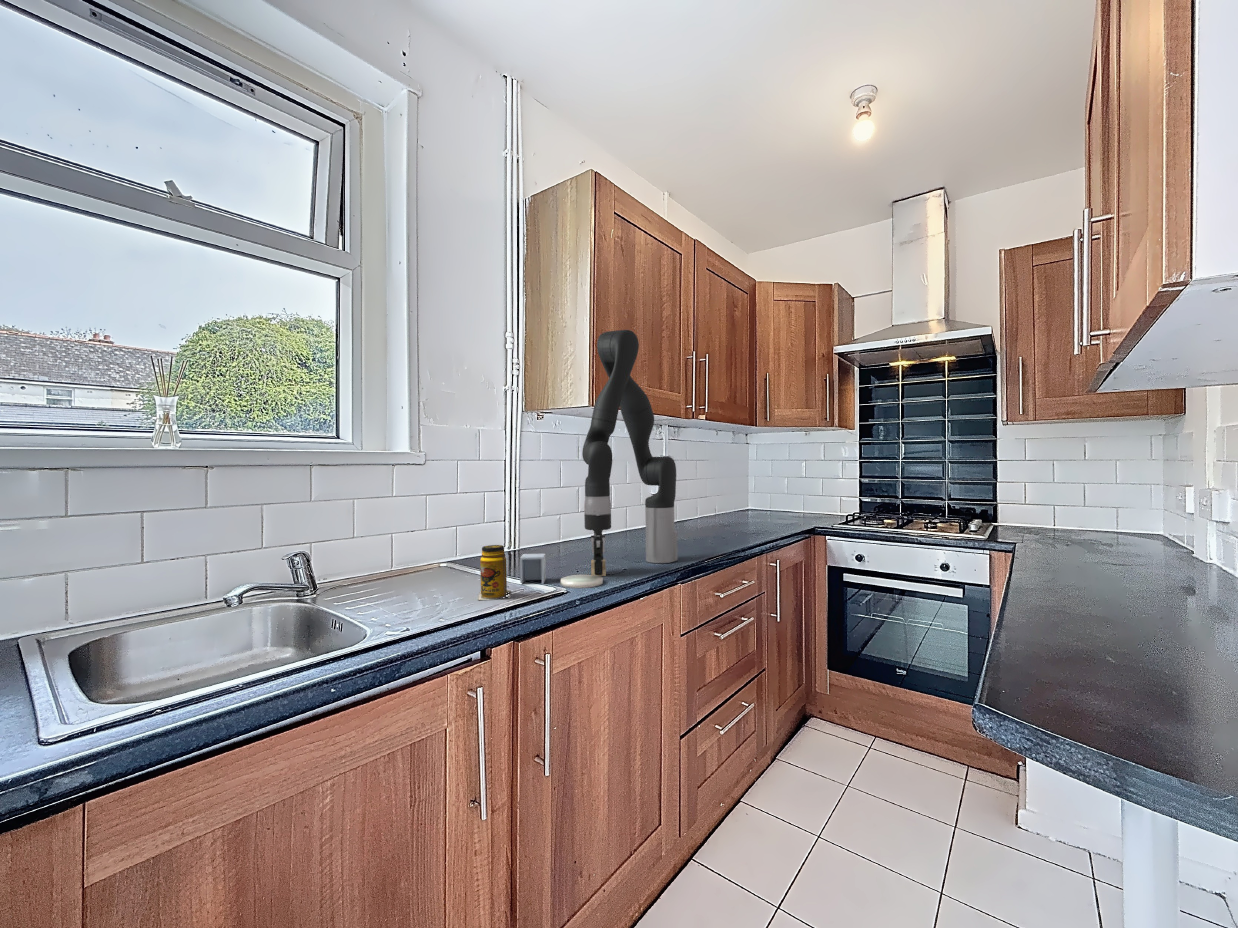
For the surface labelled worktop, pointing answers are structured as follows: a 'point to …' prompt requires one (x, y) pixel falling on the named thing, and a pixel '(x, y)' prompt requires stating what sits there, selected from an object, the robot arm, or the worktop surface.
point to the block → (602, 567)
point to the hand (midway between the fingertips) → (598, 572)
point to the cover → (532, 567)
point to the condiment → (493, 573)
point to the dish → (581, 581)
